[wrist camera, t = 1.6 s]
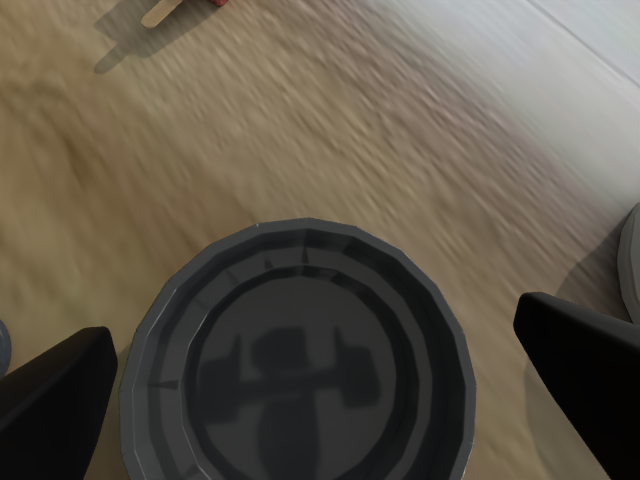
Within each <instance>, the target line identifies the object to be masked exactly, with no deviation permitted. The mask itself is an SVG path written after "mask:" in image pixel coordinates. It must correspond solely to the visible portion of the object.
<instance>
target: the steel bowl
mask: <svg viewBox="0 0 640 480" xmlns="http://www.w3.org/2000/svg"><path fill="white" fill-rule="evenodd" d="M475 409H476V381H475V376H474V372H473V368H472V364H471V359H470V355H469V351H468V347H467V343H466V338H465V334H464V332H463V330H462V328H461V326H460V324H459V322H458V321H457V319H456V317H455V315H454V314H453V312H452V310H451V308H450V306H449V305H448V303H447V301H446V299H445V298H444V296H443V294H442V292H441V290H440V289H439V287H438V286H437V284H436V283H435V282H434V281H433V280H432V279H431V278H430V277H429V276H428V275H427V274H425V273H424V272H423V271H422V270H421V269H420V268H419V267H418V266H417V265H416V264H415V263H414V262H413V261H412V260H411V259H410V258H409V257H408V256H407V255H406V254H405V253H404V252H403V251H402V250H400V249H399V248H397V247H395V246H393V245H391V244H389V243H387V242H386V241H384V240H382V239H380V238H378V237H376V236H374V235H372V234H370V233H368V232H366V231H365V230H363V229H361V228H359V227H356V226H352V225H347V224H341V223H336V222H330V221H325V220H320V219H314V218H299V219H291V220H282V221H274V222H265V223H259V224H255V225H253V226H250V227H248V228H246V229H244V230H241V231H239V232H237V233H235V234H232V235H230V236H228V237H225V238H223V239H221V240H219V241H216V242H214V243H212V244H210V246H207V247H206V248H205V249H204V250H203V251H201V252H200V253H199V254H198V255H197V256H196V257H194V258H193V259H192V260H191V261H190V262H189V263H187V264H186V265H185V266H184V267H183V268H182V269H181V270H179V271H178V272H177V273H176V274H175V275H174V276H172V277H171V278H170V279H169V280H168V282H166V283H165V285H164V287H163V288H162V290H161V291H160V293H159V294H158V296H157V298H156V299H155V301H154V302H153V304H152V306H151V307H150V309H149V310H148V312H147V313H146V315H145V317H144V318H143V320H142V321H141V323H140V324H139V326H138V328H137V329H136V332H135V334H134V337H133V341H132V345H131V348H130V352H129V355H128V359H127V363H126V366H125V370H124V373H123V377H122V381H121V384H120V388H119V419H120V448H121V455H122V456H121V457H122V460H123V463H124V465H125V468H126V471H127V473H128V476H129V479H130V480H462V478H463V475H464V472H465V469H466V466H467V463H468V460H469V457H470V454H471V451H472V449H473V446H474V444H473V443H474V431H475Z"/></svg>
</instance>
